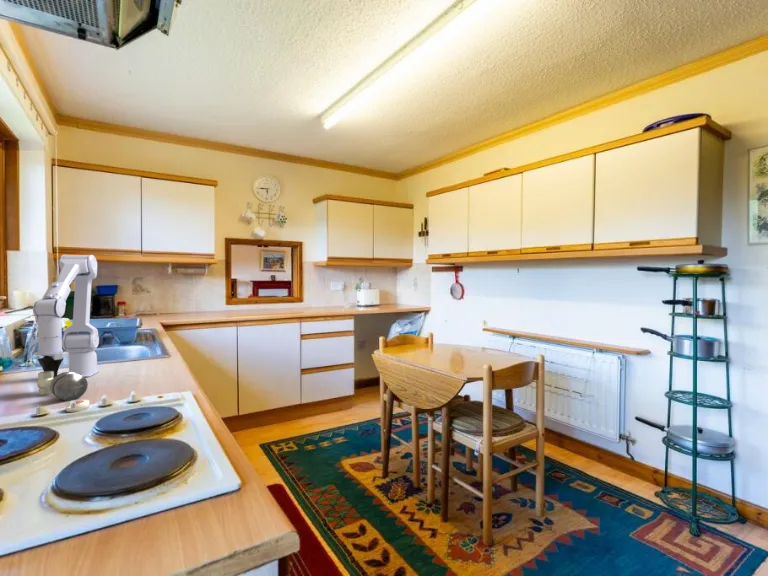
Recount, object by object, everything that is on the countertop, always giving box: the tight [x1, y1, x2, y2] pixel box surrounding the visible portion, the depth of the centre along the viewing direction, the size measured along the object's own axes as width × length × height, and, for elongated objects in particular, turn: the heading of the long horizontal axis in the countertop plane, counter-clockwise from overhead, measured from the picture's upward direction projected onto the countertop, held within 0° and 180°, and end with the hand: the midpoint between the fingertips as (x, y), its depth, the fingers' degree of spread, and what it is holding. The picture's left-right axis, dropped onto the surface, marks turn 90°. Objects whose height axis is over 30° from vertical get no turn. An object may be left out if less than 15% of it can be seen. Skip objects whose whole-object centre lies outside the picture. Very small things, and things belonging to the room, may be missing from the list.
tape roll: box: [65, 399, 90, 413], centre depth 109 cm, size 5×5×2 cm
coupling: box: [50, 371, 89, 402], centre depth 118 cm, size 5×8×8 cm, turn 145°
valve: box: [36, 371, 81, 396], centre depth 123 cm, size 7×7×12 cm
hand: (51, 379), depth 127 cm, fingers closed
